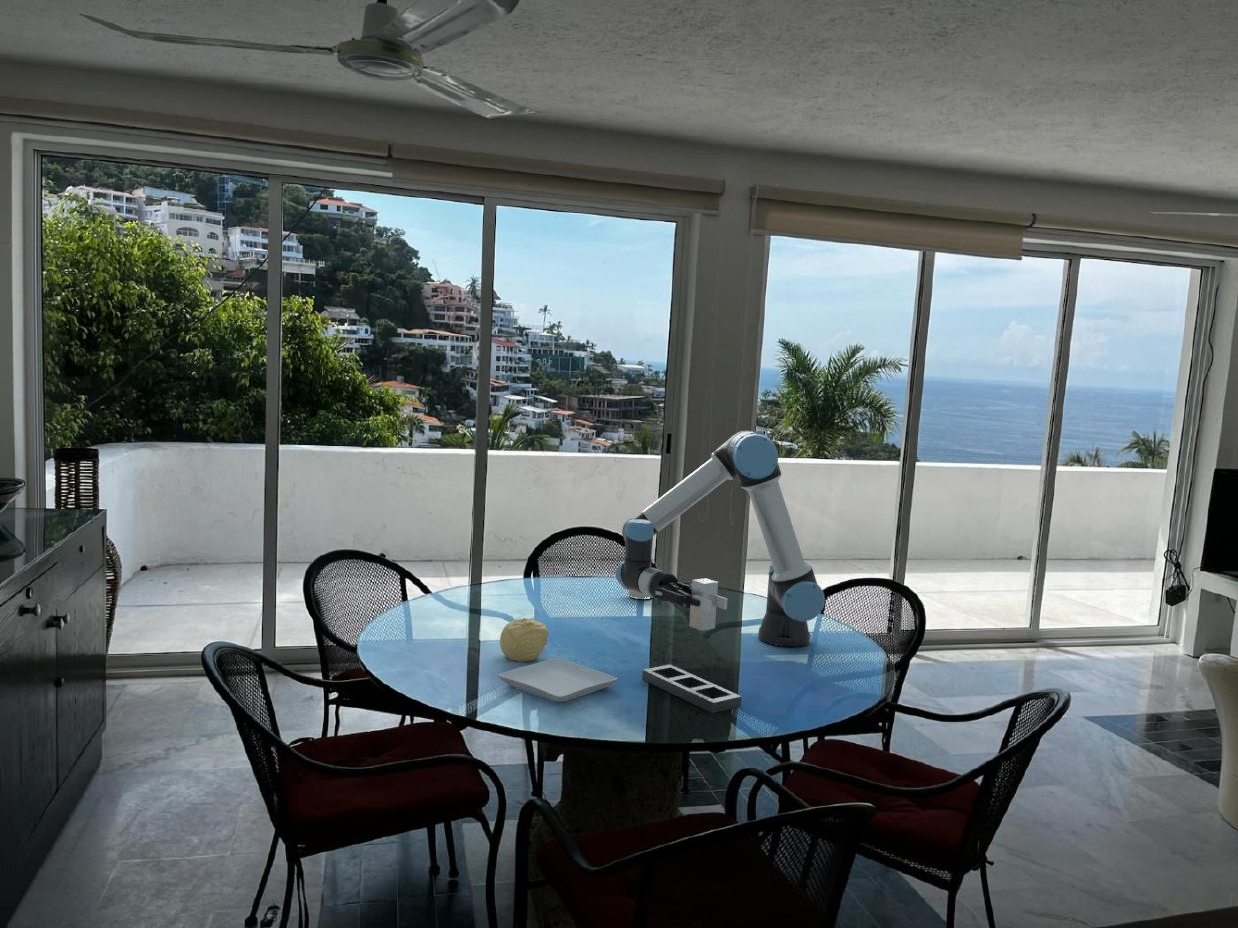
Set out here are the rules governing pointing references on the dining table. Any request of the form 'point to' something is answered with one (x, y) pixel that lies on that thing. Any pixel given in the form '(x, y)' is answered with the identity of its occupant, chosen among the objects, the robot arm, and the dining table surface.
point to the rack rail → (693, 695)
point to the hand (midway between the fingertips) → (718, 605)
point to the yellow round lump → (523, 639)
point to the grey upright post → (698, 616)
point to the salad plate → (557, 679)
